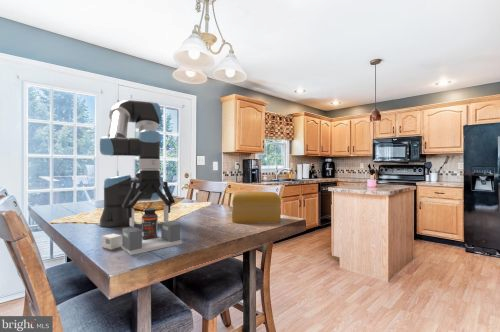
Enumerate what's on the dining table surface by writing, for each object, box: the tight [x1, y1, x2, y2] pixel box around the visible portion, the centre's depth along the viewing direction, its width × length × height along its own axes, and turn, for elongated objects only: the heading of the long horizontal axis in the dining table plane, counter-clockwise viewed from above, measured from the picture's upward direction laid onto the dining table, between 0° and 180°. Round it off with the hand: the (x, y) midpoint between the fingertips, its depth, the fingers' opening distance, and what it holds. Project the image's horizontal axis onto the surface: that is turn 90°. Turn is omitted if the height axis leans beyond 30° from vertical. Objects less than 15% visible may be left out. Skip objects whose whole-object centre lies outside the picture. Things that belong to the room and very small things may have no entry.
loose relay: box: [101, 233, 122, 251], centre depth 92 cm, size 5×4×4 cm
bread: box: [231, 191, 282, 224], centre depth 137 cm, size 24×13×15 cm, turn 92°
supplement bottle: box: [141, 207, 159, 240], centre depth 104 cm, size 6×6×11 cm
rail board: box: [120, 220, 183, 256], centre depth 94 cm, size 10×18×7 cm, turn 133°
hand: (149, 223), depth 104 cm, fingers open, 13 cm apart
